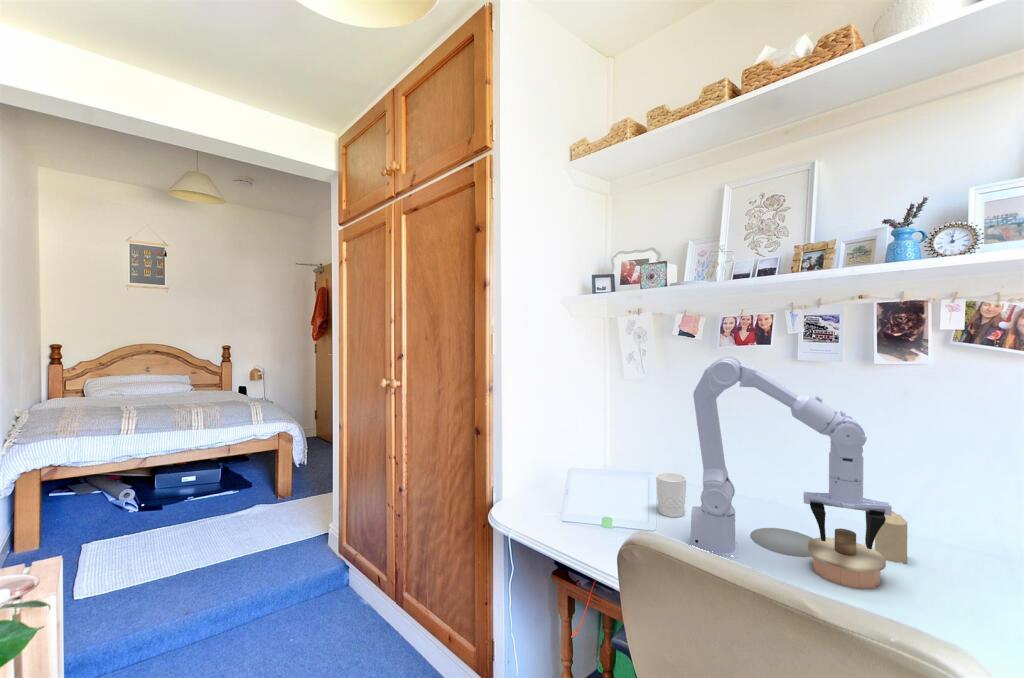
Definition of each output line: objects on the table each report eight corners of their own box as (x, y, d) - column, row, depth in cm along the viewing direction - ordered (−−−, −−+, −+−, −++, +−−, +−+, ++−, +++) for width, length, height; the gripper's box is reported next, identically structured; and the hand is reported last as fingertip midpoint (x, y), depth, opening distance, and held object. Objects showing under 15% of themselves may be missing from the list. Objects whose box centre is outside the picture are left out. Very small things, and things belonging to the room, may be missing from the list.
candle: (875, 549, 107) (875, 506, 106) (906, 557, 103) (907, 512, 103) (874, 559, 102) (874, 513, 102) (907, 567, 99) (907, 520, 99)
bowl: (816, 581, 94) (816, 561, 93) (810, 557, 103) (810, 539, 103) (885, 595, 88) (885, 574, 88) (872, 568, 98) (872, 550, 98)
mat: (749, 549, 107) (749, 548, 107) (750, 525, 120) (750, 523, 120) (828, 564, 100) (828, 562, 100) (819, 536, 113) (819, 535, 113)
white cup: (689, 519, 124) (689, 482, 124) (658, 517, 126) (658, 480, 125) (683, 508, 132) (683, 472, 132) (654, 506, 134) (654, 471, 133)
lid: (808, 561, 94) (808, 537, 94) (807, 536, 105) (807, 515, 105) (891, 578, 87) (891, 553, 87) (880, 549, 98) (880, 527, 98)
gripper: (805, 477, 95) (805, 543, 96) (895, 488, 88) (895, 559, 89) (802, 468, 101) (802, 530, 102) (886, 477, 95) (886, 544, 95)
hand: (845, 543), depth 96 cm, fingers open, 7 cm apart
